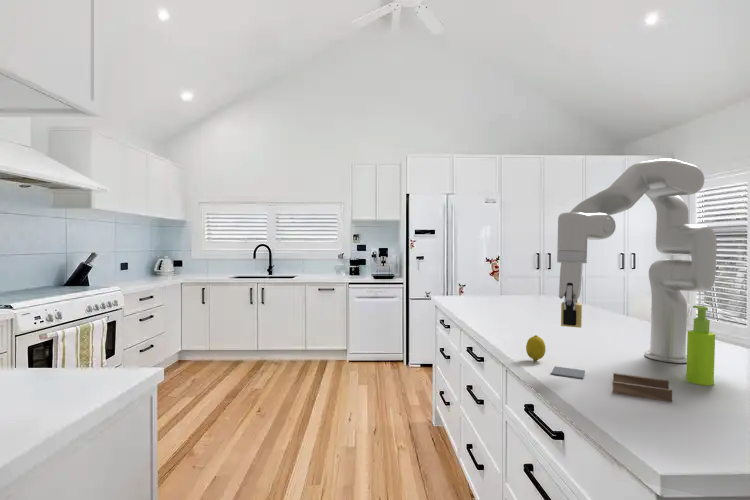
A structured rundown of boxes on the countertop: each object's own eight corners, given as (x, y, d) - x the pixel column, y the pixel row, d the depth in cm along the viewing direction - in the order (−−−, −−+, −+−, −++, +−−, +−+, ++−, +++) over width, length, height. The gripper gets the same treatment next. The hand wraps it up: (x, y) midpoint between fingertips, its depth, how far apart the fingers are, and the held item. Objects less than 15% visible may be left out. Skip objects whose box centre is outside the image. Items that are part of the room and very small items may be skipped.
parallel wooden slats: (613, 382, 117) (613, 372, 117) (668, 390, 111) (668, 380, 111) (612, 392, 108) (613, 382, 108) (672, 401, 103) (672, 390, 103)
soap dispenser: (707, 379, 121) (709, 305, 121) (717, 386, 115) (719, 308, 114) (681, 376, 123) (684, 303, 123) (690, 384, 116) (692, 307, 116)
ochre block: (562, 323, 127) (562, 301, 127) (581, 324, 125) (581, 303, 125) (560, 325, 123) (561, 304, 122) (581, 327, 120) (581, 305, 120)
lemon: (546, 364, 133) (547, 337, 133) (527, 363, 134) (527, 336, 134) (543, 359, 139) (544, 333, 139) (524, 358, 140) (525, 332, 140)
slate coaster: (554, 367, 130) (554, 366, 130) (585, 371, 126) (585, 370, 126) (551, 374, 123) (551, 373, 123) (583, 379, 119) (583, 377, 119)
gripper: (560, 256, 133) (559, 317, 133) (553, 257, 118) (552, 327, 118) (588, 257, 129) (587, 320, 130) (585, 258, 114) (583, 329, 115)
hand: (570, 322), depth 124 cm, fingers closed on ochre block, 5 cm apart
